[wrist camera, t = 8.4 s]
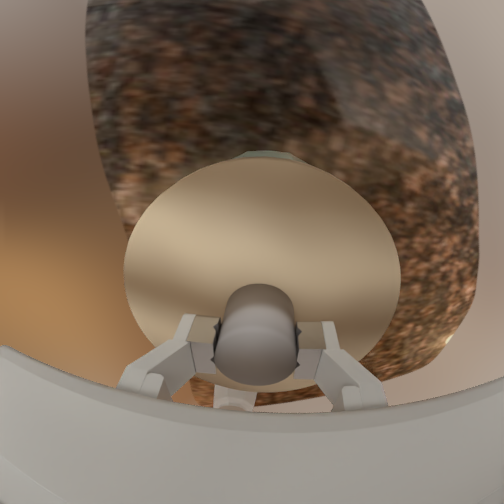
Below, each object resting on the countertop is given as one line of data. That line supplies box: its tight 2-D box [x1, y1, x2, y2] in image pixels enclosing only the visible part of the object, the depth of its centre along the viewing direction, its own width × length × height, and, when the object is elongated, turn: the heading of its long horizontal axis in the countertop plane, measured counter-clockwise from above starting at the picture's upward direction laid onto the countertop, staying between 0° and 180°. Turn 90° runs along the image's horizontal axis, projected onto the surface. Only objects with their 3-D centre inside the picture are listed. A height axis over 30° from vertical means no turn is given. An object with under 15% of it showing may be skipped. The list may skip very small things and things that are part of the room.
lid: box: [124, 156, 401, 392], centre depth 11 cm, size 13×13×4 cm
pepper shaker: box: [213, 384, 257, 412], centre depth 24 cm, size 5×5×11 cm
